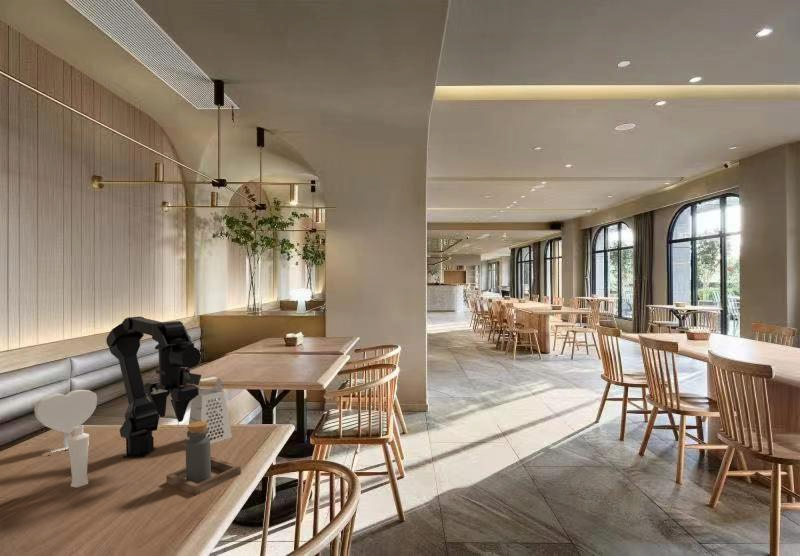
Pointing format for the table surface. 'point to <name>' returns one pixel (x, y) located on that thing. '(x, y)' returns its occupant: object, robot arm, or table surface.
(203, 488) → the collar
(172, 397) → the robot arm
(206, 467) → the bottle
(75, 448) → the perfume bottle
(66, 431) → the heart sculpture
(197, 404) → the grater
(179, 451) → the table surface
